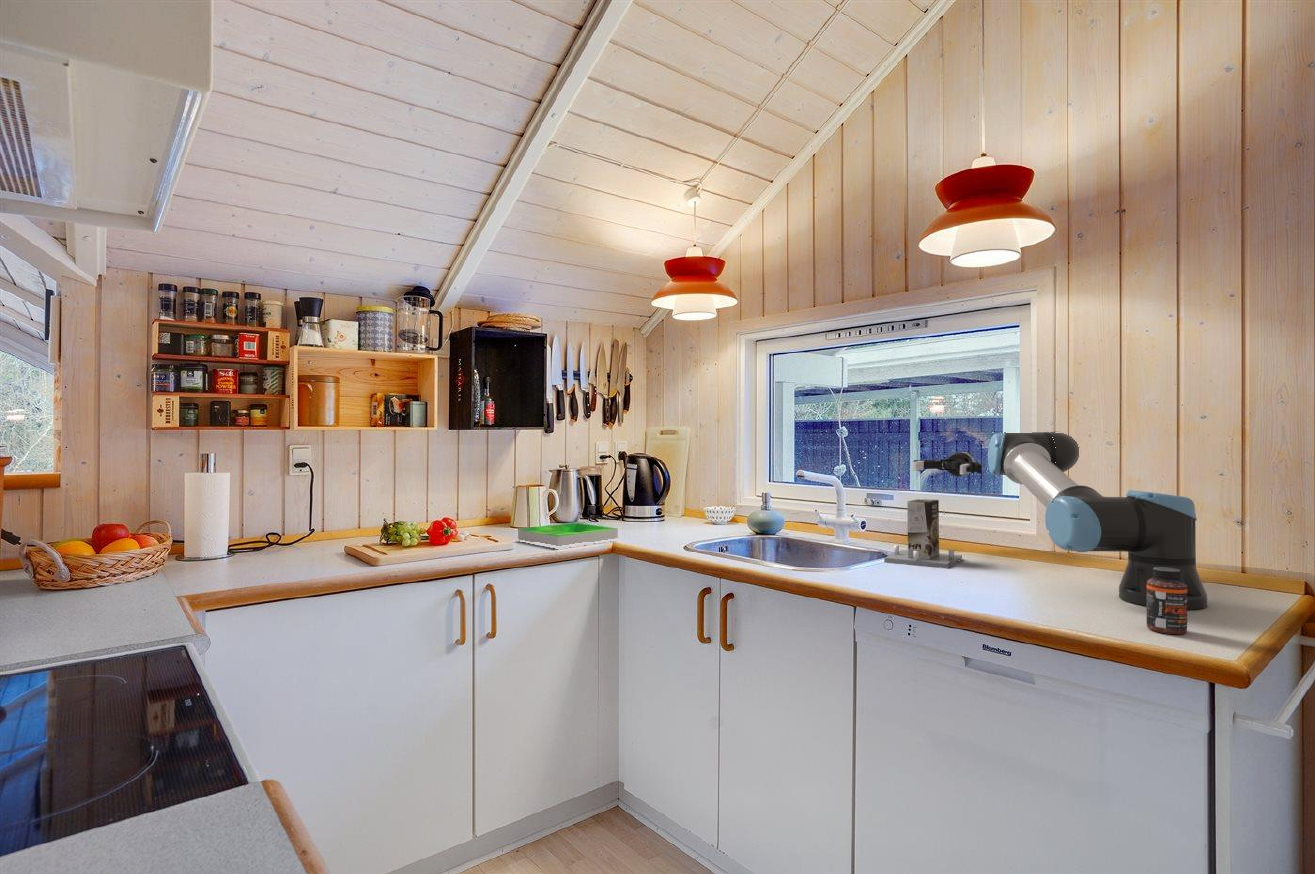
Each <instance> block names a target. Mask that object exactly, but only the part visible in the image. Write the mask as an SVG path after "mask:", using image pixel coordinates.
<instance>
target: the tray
mask: <svg viewBox="0 0 1315 874" xmlns="http://www.w3.org/2000/svg"><path fill="white" fill-rule="evenodd" d="M618 533H619V531H618V528H617V527H612V526H611V527H610V526H603V525H597V524H590V523H583V522H570V523H569V522H568V523H561V524H552V525H543V526H533V527H526V528H519V529H517V540H518V539H519V540H525V541H530V542H540V543H545V544H551V545H556V546H562V545H569V544H575V543H582V542H595V541H601V540H608V539H615V538H618V539H619V534H618Z"/></svg>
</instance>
